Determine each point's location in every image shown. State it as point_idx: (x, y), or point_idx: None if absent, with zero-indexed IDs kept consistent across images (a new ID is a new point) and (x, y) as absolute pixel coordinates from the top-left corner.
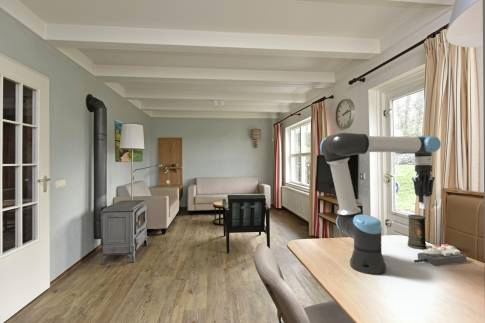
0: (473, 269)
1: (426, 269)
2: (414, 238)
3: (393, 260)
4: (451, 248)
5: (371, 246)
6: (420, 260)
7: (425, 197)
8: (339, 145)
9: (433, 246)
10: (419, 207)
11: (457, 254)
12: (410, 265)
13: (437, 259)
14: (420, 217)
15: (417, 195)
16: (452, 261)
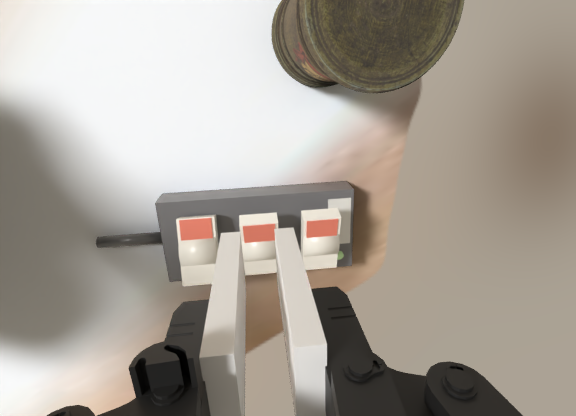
0: None
1: (109, 285)
2: (287, 53)
3: (26, 184)
4: (310, 255)
5: None
6: (125, 245)
7: (293, 387)
8: None
9: (239, 226)
10: (220, 238)
11: None
12: (70, 244)
13: (181, 280)
14: (354, 80)
15: (144, 370)
16: None
